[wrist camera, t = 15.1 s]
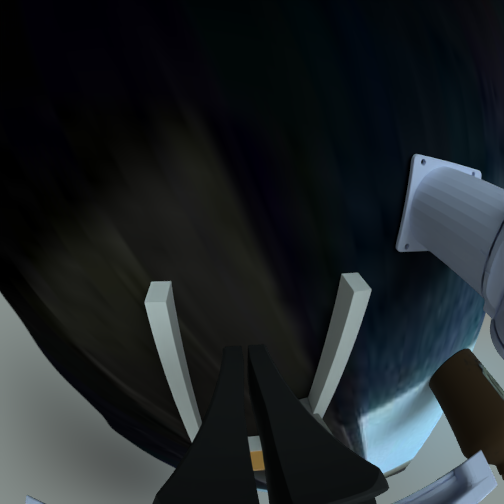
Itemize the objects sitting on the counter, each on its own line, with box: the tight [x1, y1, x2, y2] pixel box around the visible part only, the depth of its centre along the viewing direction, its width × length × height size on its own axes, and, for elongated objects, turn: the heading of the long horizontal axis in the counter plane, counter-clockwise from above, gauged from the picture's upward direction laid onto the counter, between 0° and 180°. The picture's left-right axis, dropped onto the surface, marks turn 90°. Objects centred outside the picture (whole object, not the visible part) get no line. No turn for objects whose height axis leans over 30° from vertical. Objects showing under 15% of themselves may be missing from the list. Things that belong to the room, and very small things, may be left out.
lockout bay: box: [145, 273, 371, 471], centre depth 24 cm, size 16×29×6 cm, turn 179°
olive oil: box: [429, 349, 504, 480], centre depth 22 cm, size 11×11×25 cm
